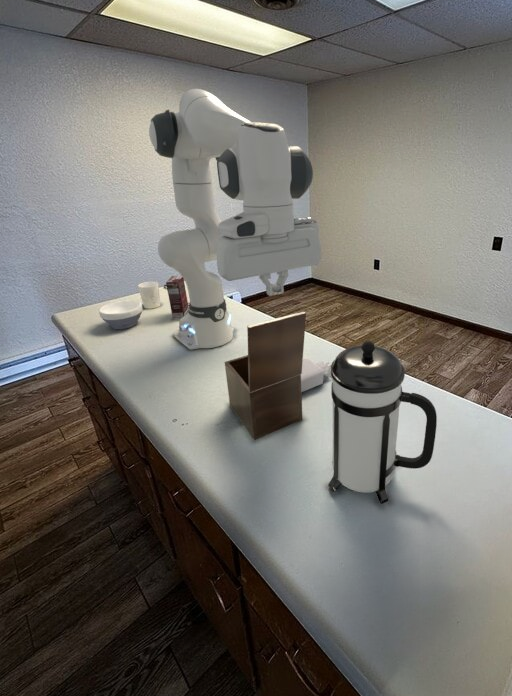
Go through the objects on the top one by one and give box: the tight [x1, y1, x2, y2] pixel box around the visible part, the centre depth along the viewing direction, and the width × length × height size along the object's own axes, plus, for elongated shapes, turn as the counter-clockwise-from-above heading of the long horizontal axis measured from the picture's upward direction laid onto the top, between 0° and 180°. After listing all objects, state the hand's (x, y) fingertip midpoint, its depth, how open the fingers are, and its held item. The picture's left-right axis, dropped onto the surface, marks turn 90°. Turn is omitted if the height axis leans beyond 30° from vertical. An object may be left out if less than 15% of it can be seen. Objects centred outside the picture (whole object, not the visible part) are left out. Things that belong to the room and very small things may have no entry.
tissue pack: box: [301, 358, 331, 393], centre depth 103 cm, size 5×9×15 cm
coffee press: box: [323, 340, 438, 505], centre depth 66 cm, size 17×16×30 cm
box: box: [224, 354, 303, 441], centre depth 88 cm, size 16×13×13 cm
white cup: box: [137, 281, 162, 310], centre depth 156 cm, size 8×8×10 cm
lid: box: [246, 311, 307, 392], centre depth 75 cm, size 16×13×1 cm
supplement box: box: [165, 275, 189, 321], centre depth 145 cm, size 9×5×16 cm, turn 6°
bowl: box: [98, 299, 144, 330], centre depth 138 cm, size 14×14×8 cm
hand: (275, 293), depth 70 cm, fingers closed
